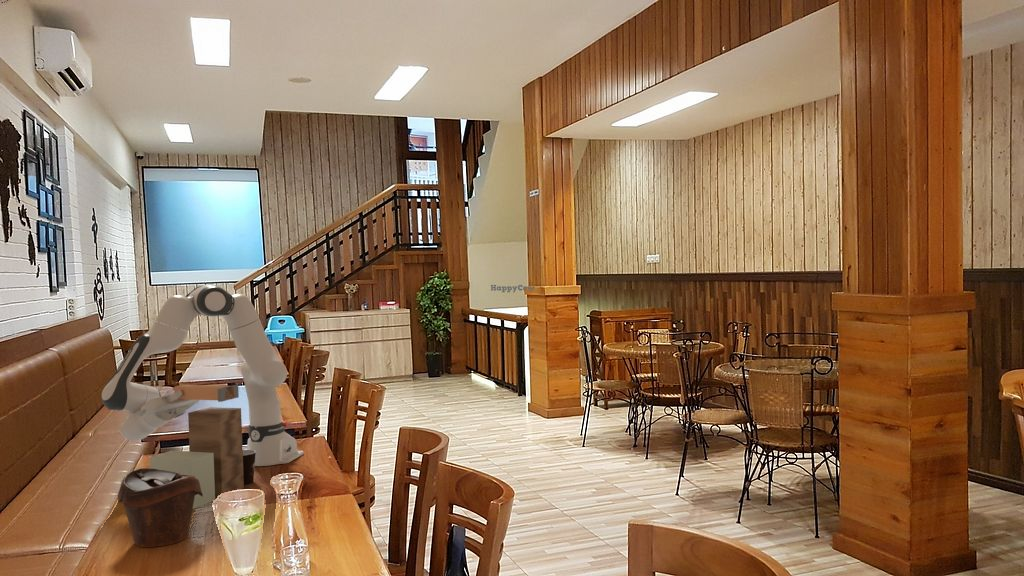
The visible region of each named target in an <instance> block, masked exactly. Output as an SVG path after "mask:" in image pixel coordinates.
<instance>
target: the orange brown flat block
mask: <svg viewBox="0 0 1024 576" xmlns="http://www.w3.org/2000/svg"><path fill="white" fill-rule="evenodd" d="M179 390H183V391H184V393H185V394H184V395H183V396H182V397H179V398H177V399H190V400H199V401H217V402H218V403H222V402H226V401H229V400H234V399H238V398H239V384H233V385H218V384H217V385H214V384H213V385H212V384H207V385H206V384H180V385H175V386H174V393H176V392H177V391H179Z"/></svg>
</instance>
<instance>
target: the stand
mask: <svg viewBox="0 0 1024 576" xmlns="http://www.w3.org/2000/svg"><path fill="white" fill-rule="evenodd" d="M187 418H188V419H187V420H188V441H189V443H188V444H189V446H188V447H189V451H191V452H207V453H214V481H215V498H218V497H217V496H218V495H220V494H221V493H224V492H228V491H232V490H237V489H241V490H244V489H245V485H244V476H243V450H244V449H243V427H242V426H243V422H242V407H241V408H240V407H222V406H220V407H218V406H217V407H216V406H211V407H207V408H202V409H198V410H194V411H190V412H188V413H187Z"/></svg>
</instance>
